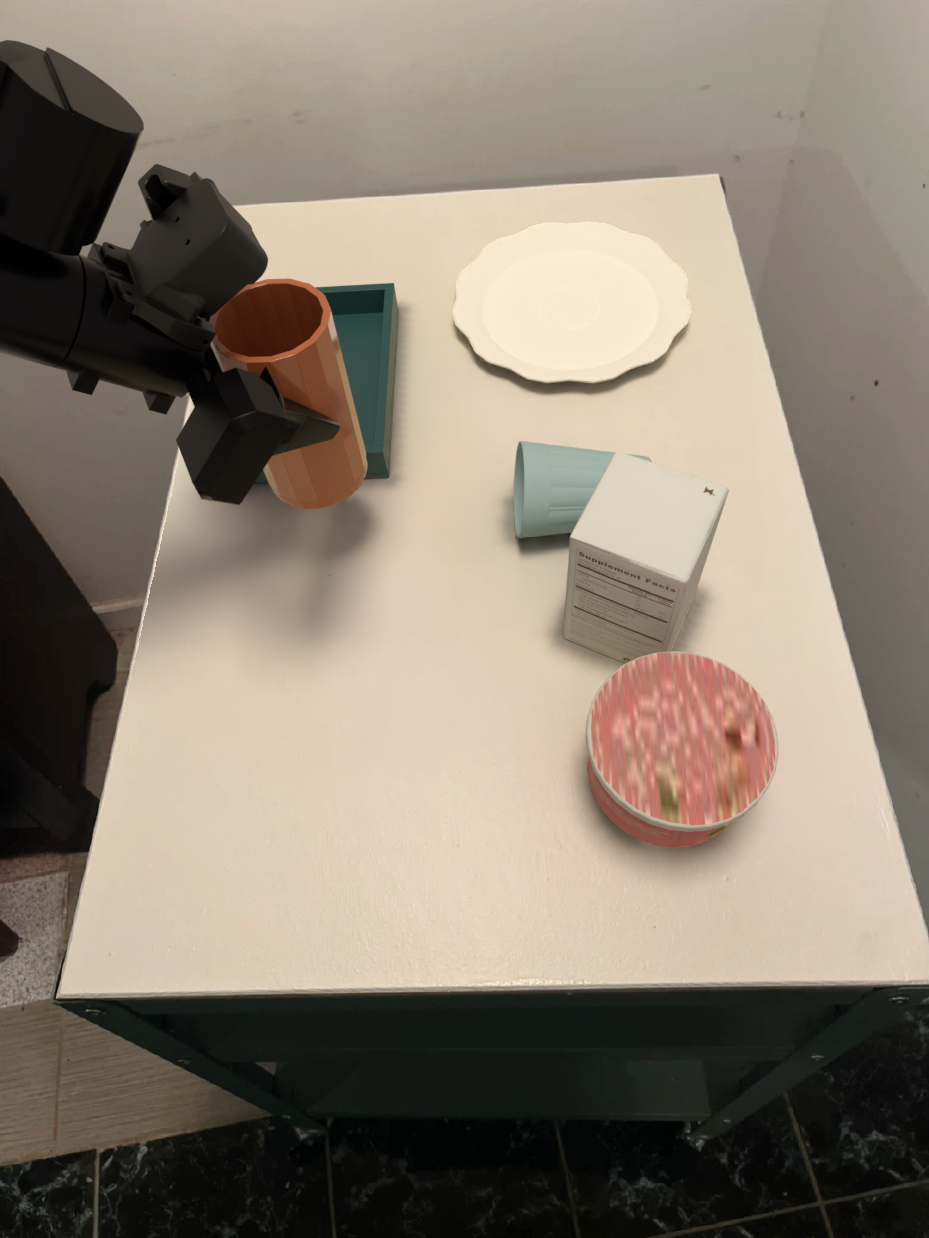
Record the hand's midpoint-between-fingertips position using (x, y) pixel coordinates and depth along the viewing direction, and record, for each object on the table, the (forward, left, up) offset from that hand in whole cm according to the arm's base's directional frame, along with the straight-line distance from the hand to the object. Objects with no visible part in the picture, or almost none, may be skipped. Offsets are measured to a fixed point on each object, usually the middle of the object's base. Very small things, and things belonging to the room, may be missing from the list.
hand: (316, 393), depth 53 cm
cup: (+21, 0, -11) cm, 24 cm away
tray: (-2, +15, -14) cm, 20 cm away
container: (+17, -24, -14) cm, 33 cm away
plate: (+21, +20, -14) cm, 32 cm away
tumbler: (-1, 0, -7) cm, 7 cm away
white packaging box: (+18, -13, -14) cm, 26 cm away
